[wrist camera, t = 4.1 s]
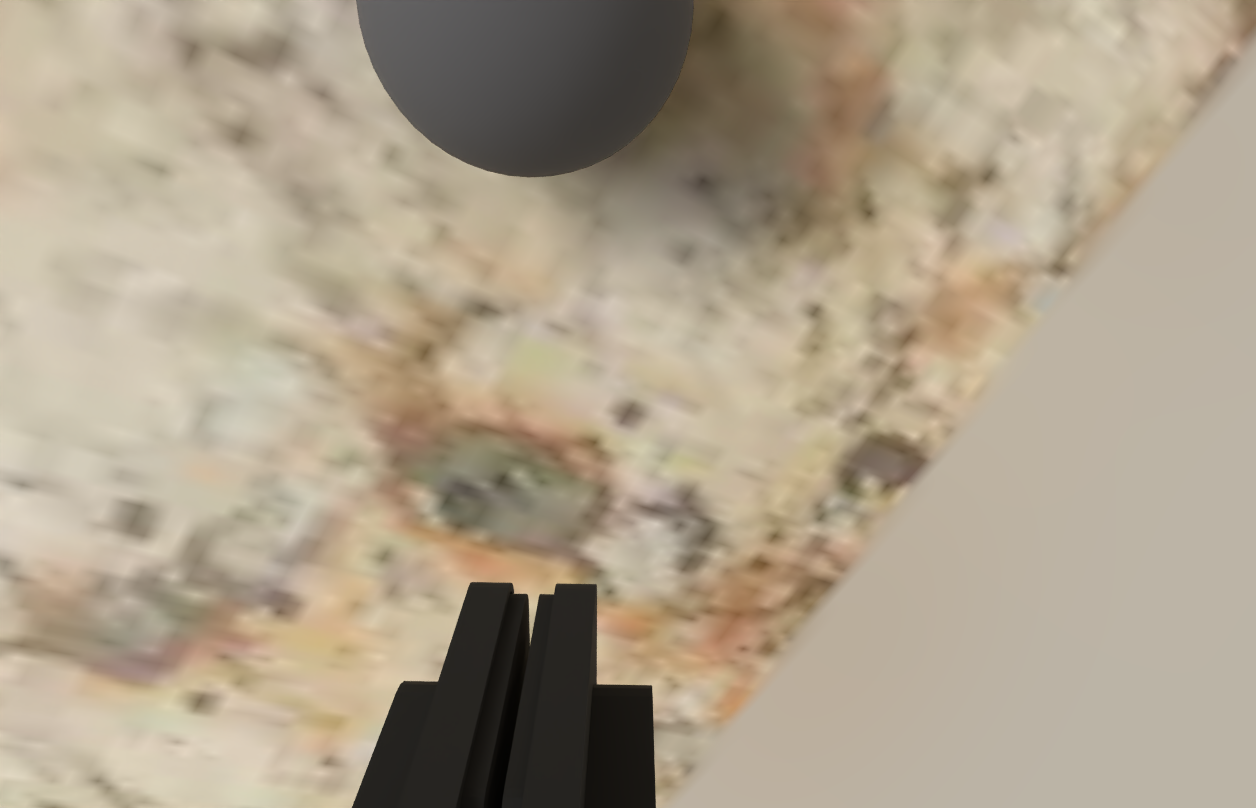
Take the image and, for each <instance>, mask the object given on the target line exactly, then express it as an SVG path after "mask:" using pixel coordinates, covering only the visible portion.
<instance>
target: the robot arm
mask: <svg viewBox="0 0 1256 808" xmlns="http://www.w3.org/2000/svg"><path fill="white" fill-rule="evenodd" d="M352 808H656V799H655V765H654V730H653V696H652V685H597V585H596V584H556V587H555V592H554V595H551V594H540V595H539V600H538V605H537V611H536V616H535V622H534V627H533V633H532V638H531V644H530V634H529V600H528V595H527V594H514V589H513V584H512V583H488V582H472V583H470V585H469V587H468V590H467V594H466V597H465V600H464V603H463V606H462V609H461V612H460V615H459V618H458V622H457V625H456V628H455V631H454V634H453V637H452V640H451V643H450V646H449V649H448V653H447V656H446V659H445V662H444V665H443V668H442V671H441V674H440V677H439V680H438V682H424V681H404V682H403V683H401V684H400V686H399V688H398V690H397V692H396V694H395V697H394V700H393V702H392V705H391V707H390V710H389V713H388V715H387V718H386V720H385V723H384V726H383V728H382V731H381V733H380V736H379V739H378V741H377V744H376V747H375V749H374V752H373V754H372V757H371V760H370V762H369V765H368V767H367V770H366V773H365V775H364V778H363V780H362V783H361V786H360V788H359V791H358V793H357V796H356V799H355V801H354V804H353V806H352Z"/></svg>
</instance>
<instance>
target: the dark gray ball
mask: <svg viewBox="0 0 1256 808" xmlns="http://www.w3.org/2000/svg"><path fill="white" fill-rule="evenodd" d="M356 2H357V9H358V17H359V24H360V28H361V32H362V36H363V39H364V43H365V47H366V49H367V52H368V55H369V57H370V60H371V62H372V65H373V68H374V70H375V72H376V73H377V75H378V77H379V79H380V81H381V83H382V85H383V87H384V89H385V90H386V92H387V93H388V94H389V96H390V97H391V99H392V100H393V102H394V103H395V105H396V106H397V107H398V109H399V110H400V111H401V113H402V114H403V115H404V116H405V117H406V118H407V119H408V120H409V122H410V123H411V124H412V125H413V126H414V127H415V128H416V129H417V130H418V131H419V132H421V133H422V134H423V135H424V136H425V137H426V138H427V139H428V140H430V141H431V142H432V143H434V144H435V145H437V146H438V147H439V148H441V149H442V150H444V151H445V152H447V153H448V154H450V155H452V156H454V157H456V158H458V159H460V160H462V161H464V162H465V163H467V164H470V165H473V166H475V167H478V168H481V169H484V170H487V171H490V172H495V173H499V174H504V175H509V176H520V177H544V176H554V175H559V174H565V173H570V172H574V171H577V170H580V169H583V168H586V167H589V166H591V165H593V164H595V163H597V162H600V161H602V160H604V159H606V158H608V157H610V156H611V155H613V154H614V153H616V152H617V151H619V150H620V149H622V148H623V147H624V146H626V145H627V144H628V143H630V142H631V141H632V140H633V139H634V138H635V137H636V136H637V135H639V134H640V133H641V132H642V131H643V130H644V129H645V128H646V126H647V125H648V124H649V123H650V122H651V121H652V120H653V118H654V117H655V116H656V115H657V114H658V112H659V111H660V109H661V108H662V106H663V105H664V103H665V102H666V100H667V99H668V97H669V95H670V93H671V91H672V89H673V87H674V85H675V83H676V81H677V79H678V77H679V74H680V71H681V69H682V66H683V63H684V60H685V57H686V54H687V49H688V45H689V40H690V36H691V30H692V19H693V9H694V5H693V0H356Z"/></svg>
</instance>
